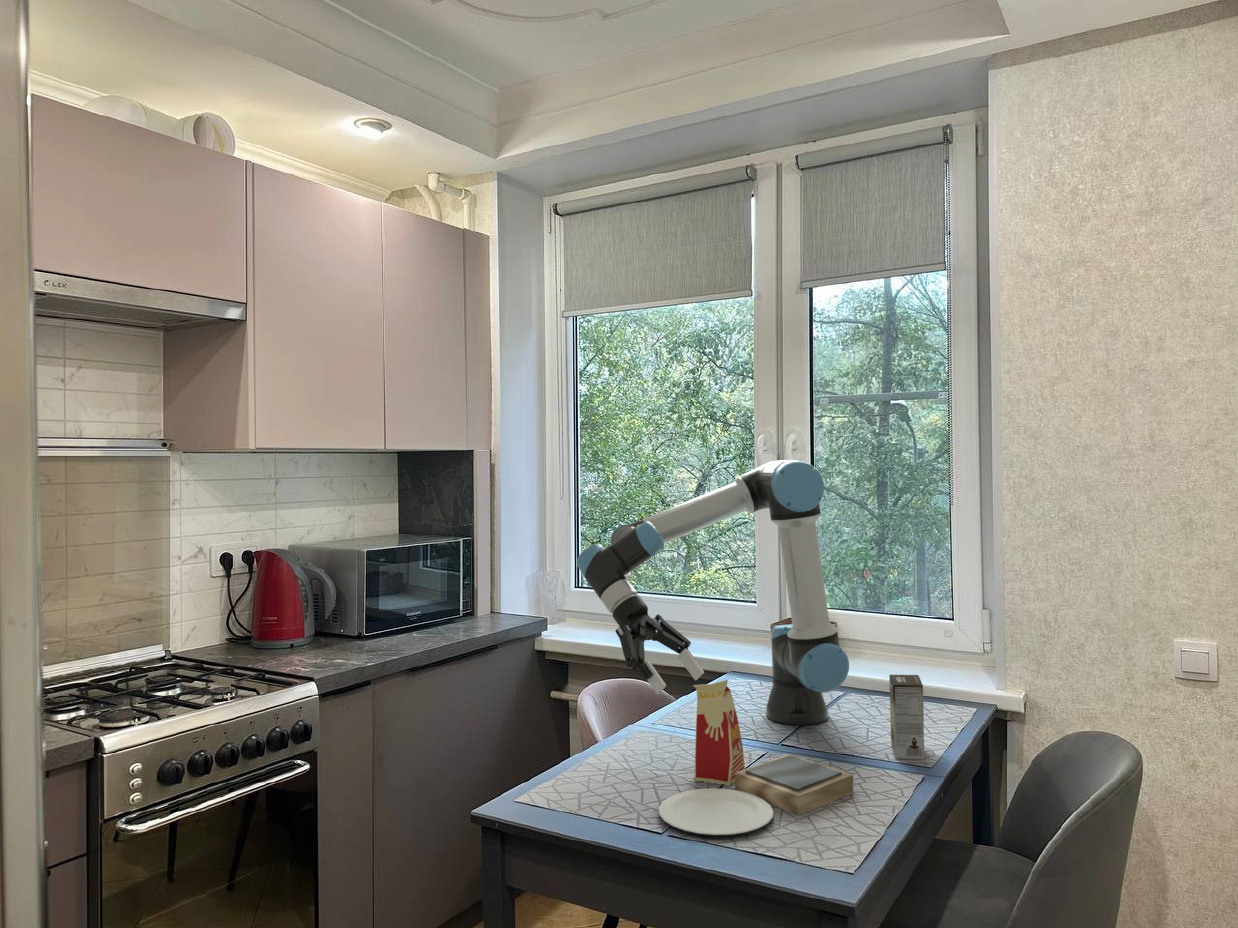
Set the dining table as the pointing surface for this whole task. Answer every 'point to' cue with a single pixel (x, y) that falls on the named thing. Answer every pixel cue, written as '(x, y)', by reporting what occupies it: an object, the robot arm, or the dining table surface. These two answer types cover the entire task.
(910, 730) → the coffee box
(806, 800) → the oak plinth
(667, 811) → the plate
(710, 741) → the milk carton
